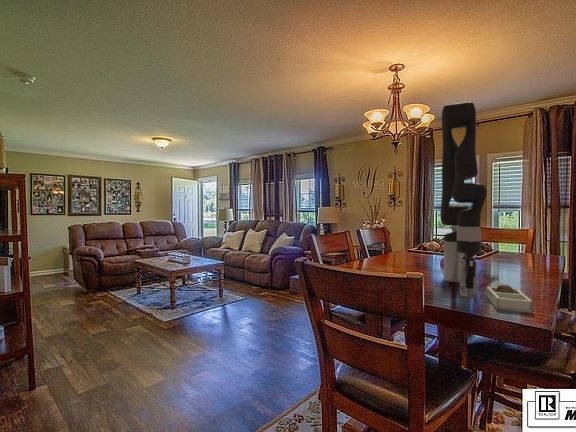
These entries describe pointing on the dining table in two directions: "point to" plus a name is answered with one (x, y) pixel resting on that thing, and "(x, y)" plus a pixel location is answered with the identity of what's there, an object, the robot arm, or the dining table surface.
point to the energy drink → (463, 290)
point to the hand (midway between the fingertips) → (468, 286)
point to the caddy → (510, 300)
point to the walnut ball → (504, 289)
